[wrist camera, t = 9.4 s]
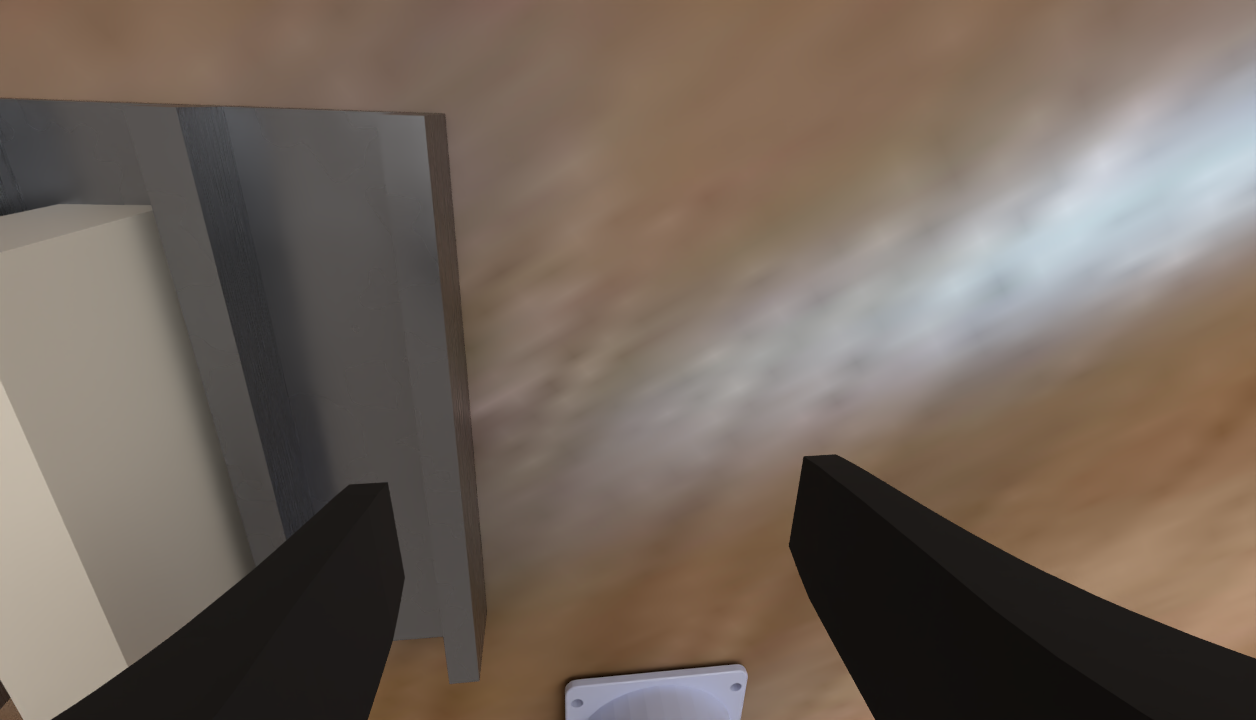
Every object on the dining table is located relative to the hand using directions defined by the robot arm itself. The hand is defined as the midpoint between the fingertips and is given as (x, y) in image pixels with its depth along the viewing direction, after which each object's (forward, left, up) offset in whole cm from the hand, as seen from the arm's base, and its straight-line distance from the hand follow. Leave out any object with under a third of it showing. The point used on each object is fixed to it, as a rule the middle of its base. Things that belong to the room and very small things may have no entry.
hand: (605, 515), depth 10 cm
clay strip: (-3, +12, -8) cm, 14 cm away
